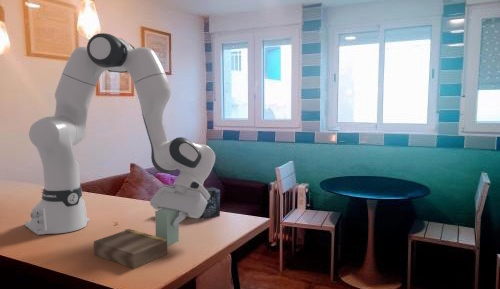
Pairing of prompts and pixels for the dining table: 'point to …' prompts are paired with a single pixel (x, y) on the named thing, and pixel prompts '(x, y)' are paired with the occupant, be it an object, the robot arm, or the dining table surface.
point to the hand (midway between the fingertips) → (165, 224)
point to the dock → (130, 248)
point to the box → (212, 204)
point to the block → (166, 225)
